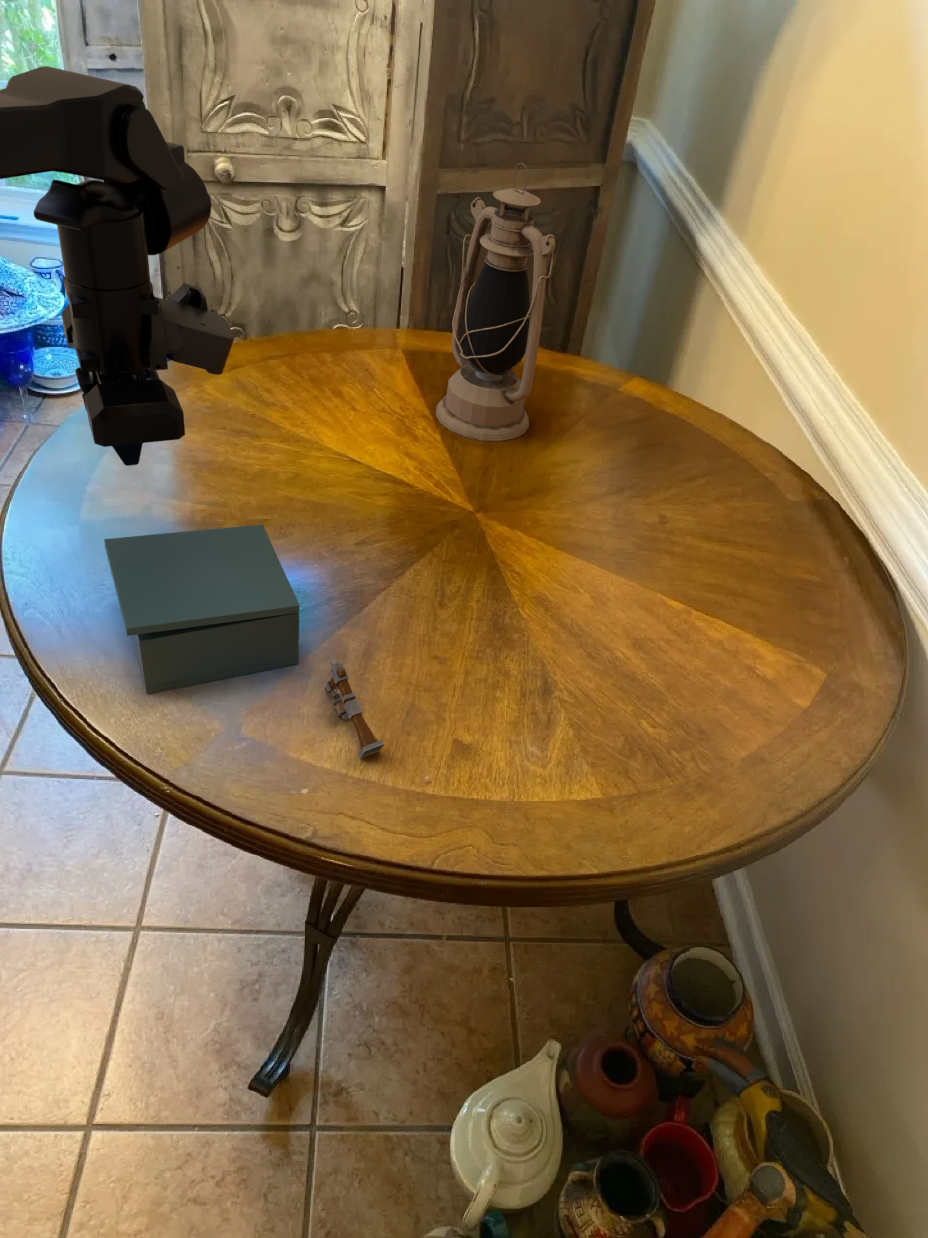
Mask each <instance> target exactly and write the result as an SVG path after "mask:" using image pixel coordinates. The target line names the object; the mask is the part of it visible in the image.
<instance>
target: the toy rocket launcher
mask: <svg viewBox="0 0 928 1238" xmlns="http://www.w3.org/2000/svg"><path fill="white" fill-rule="evenodd" d="M330 667H331V668H330V669H329V672H330V673H331V678H330V680H329V681H327V682H326V683H325V686H324V690H325V692H326V694H329V693H333V694H334V695H333V697H332V699H334V701H333V703H332V704H331V706H332V707H335V710H336V713H337V717H341V719H342V720H345V721H346V720H348V719H349V720H351V722H352V725H353V727H354V729H355V733H356V736H357V738H358V742H359V745H360V751H359V752H358V753H357V754H358V759H361V758H365V757H367V756H369V755H373V754H375V753H377V752H380V751H381V750H382V749H383V747H384V746H385V745H386V743H385V742H384V739H380V740H379V739H377V737H376V736H375V735H374V733H373V731H372V730H371V728H370V727H369V724H368V722H367V721H366V720H365V717H364V715H363V713H364V710H363V709H362V707H361V705H360V703H359V699H358V697H357V695H356V692H353V689H352V687H351V684H350V682H349V679H350V677H349V675H348V674H347V671H346V668H345V665H344V663H343V662H342V663H340V662H339V660H337V659H333V660H331V661H330ZM338 690H339V692H338ZM356 697H357V698H356Z"/></svg>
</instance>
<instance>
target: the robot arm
mask: <svg viewBox="0 0 928 1238" xmlns="http://www.w3.org/2000/svg"><path fill="white" fill-rule="evenodd" d="M48 172H56V173H62V174H68V175H72V176H80V177H83V178H91V179H90V180H83V181H80V182H78V183H71V182H67V181H63V180H59V179H52V181H51V183H50V186H49V188H48V190H47V192H46V193H45V194H44V195H43V196H42V197H41V198H40V199H39V200H38V201H37V203H36V205H35V208H34V209H33V217H34V219H36V221H41V222H44V223H48V224H52V225H56V229H57V234H58V240H59V246H60V253H61V261H62V266H63V273H64V276H63V278H62V279H63V284H64V290H65V294H66V298H67V302H68V305H66V307H64V309H63V310H62V311H61V312H60V313H61V314H60V315H61V319H62V326H63V333H64V336H65V341H66V344H67V347H68V349H73V348H74V350H75V353H76V357H77V361H78V364H79V367H77V368H76V369H75V375H76V379H77V382H78V383H77V384H78V386H79V388H80V390H81V392H82V393H81V397H82V399H83V400H82V401H83V404H84V409H85V412H86V413H87V420H88V425H89V428H90V432H91V435H92V439H93V443H94V444H95V445H96V446H97V445H98V446H100V447H102V448H103V447H104V448H108V447H111V448H112V449H113V450H114V451H115V453H116V454H117V456H118V458H119V459H120V460H121V462H122V464H123V465H124V466H126V467H130V466H137V465H138V464H140V460H141V453H142V450H143V444H147V443H158V442H168V441H177V440H180V439H181V438H183V437H184V436H185V435H186V428H185V427H186V426H185V415H184V410H183V407H182V406H181V405H182V404H181V402H180V400H179V398H178V395H177V393H176V391H175V389H174V388H172V387H171V386H170V385H168V384H167V383H165V382H164V381H163V380H162V379H160V375H159V372H158V371H167V370H169V365H168V360H170V361H172V362H175V363H178V364H182V365H186V366H190V367H194V368H197V369H202V370H205V371H206V373H207V374H211V375H215V376H216V375H218V376H219V375H220V376H221V375H222V374H223V373H224V370H225V368H226V364H227V363H228V362H227V361H228V358H229V356H230V353H231V349H232V347H233V345H234V341H235V338H236V337H235V335H234V333H233V330H232V328H231V327H230V325H229V323H228V321H227V320H226V319H225V317H223V315H220V314H219V312H218V311H217V309H214V308H211V310H209V307H208V302H207V297H206V295H205V293H204V292H203V289H202V288H201V287H199V286H195V285H192V284H189V283H186V282H184V283H182V284H181V285H180V286H179V288H177V289H176V290H175V291H174V292H173V293H172V294H171V295H166V296H165V298H162V297H157V296H155V294H154V286H153V283H152V281H151V274H150V273H151V272H150V261H149V256H156V255H157V256H158V255H160V254H162V253H164V252H166V251H168V250H169V249H171V248H173V247H175V246H176V245H178V244H180V243H181V242H184V241H185V240H187V239H188V238H191V237H192V236H194V235H195V234H197V233H199V232H200V231H201V230H204V228H205V227H206V226H207V224H208V223H209V220H210V218H211V214H212V198H211V195H210V194H209V193H208V189H207V186H206V184H205V183H204V181H203V178H202V177H201V176H200V175H199V174H198V172H197V171H196V169H194V168H193V167H192V166H191V165H189V164H188V163H187V162H186V159H185V147H184V145H182V144H178V143H175V142H174V143H173V142H169V141H166V139H165V138H164V135H163V133H162V131H161V129H160V127H159V126H158V123H157V121H156V120H155V117H154V115H152V113H151V111H150V110H149V109H148V108H147V107H146V104H145V102H144V94H143V93H142V91H141V89H139V88H138V87H137V86H136V85H135V86H134V85H131V84H128V83H122V82H118V81H115V80H109V79H107V78H102V77H97V76H92V75H88V74H84V73H83V74H82V73H79V72H74V71H70V70H65V69H61V68H57V67H53V66H48V65H44V66H40V67H37V68H33V69H31V70H27V71H25V72H21V73H19V74H15V75H13V76H12V77H10V79H8V81H7V83H6V86H5V88H2V89H0V180H4V179H10V178H11V179H12V178H16V177H23V176H31V175H35V174H36V175H37V174H42V173H48Z"/></svg>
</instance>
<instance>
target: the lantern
mask: <svg viewBox="0 0 928 1238" xmlns="http://www.w3.org/2000/svg"><path fill="white" fill-rule="evenodd" d="M519 165H522V166H524V167H525V168H526V173H527V174H526V181H525V183H524V184H525V185H524V188H523V189H520V188H515V187H516V185H515V184H516V173H517V168H518V166H519ZM529 175H530V173H529V169H528V166H527V165H526V164H525V163H523V162H519V163H516V165H515V167H514V173H513V188H507V189H498V190H495V191H494V192H492V196H493V197H494V198H495V199H496V200H497V201H499V202H501V204H500V208H497V207H495V206H487V207H486V204H485V203H484V201H483V200H482V198H481V196H477V197H475V198H474V199H473V200H472V202H471V203H470V212H471V215H472V216H473V218H474V221H475V223H474V228H473V231H472V233H471V234H469V233H468V234H465V236H464V238H463V241H462V243H463V244H462V263H461V276H460V277H461V279H460V285H459V291H458V295H457V300H456V304H455V309H454V314H453V317H452V322H451V323H452V326H451V327H452V335H451V336H452V337H451V351H452V354H453V356H454V359H455V361H456V362H457V364H458V366H460V368H459V369H458V370H457V371H456V372H455V373H453V374H452V375H451V377H449V378H448V381H447V390H446V395H445V396H444V397H443V398H442V399H441V400H440V401H439V402H438V403H437V404H436V406H435V416H436V418H437V419H438V421H439V423H440V424H441V425H442V426H443V427H445V428H446V429H447V430H449V431H450V432H452V433H455V434H457V435H460V436H461V437H464V438H468V439H472V440H477V441H482V442H502V441H509V440H514V439H516V438H519V437H520V436H522V435H524V434H525V433H526V431H527V430H528V429H529V427H530V421H529V420H530V418H529V415H528V413H527V411H526V410H525V408H524V407H525V402H526V399H527V397H529V396H530V395H531V392H532V391H531V390H532V386H533V383H534V377H535V372H536V365H537V359H538V353H539V346H540V340H541V332H542V331H541V330H542V322H543V313H544V305H545V293H546V280H547V279H549V278H550V277H551V275H552V269H553V263H554V251H555V249H556V240H555V235H553V234H547V235H544V236H543V233H542V232H541V231H540V230H539V229H538V228H537V227H534V221H535V217H534V216H533V215H532V214H530V213H529V212H530V208H532V207H536V206H538V205H539V204H541V201H542V200H541V199H540V198H539V197H538V196H536V195H534V194H532V193H530V192H529V191H526V187H527V184H528V180H529ZM509 205H510V206H509ZM490 223H491V227H490V233H487V234H486V231H487V228H488V226H489V224H490ZM467 237H469V238H470V240H469V241H470V242H469V245H468V250H467V254H466V258H465V247H466V246H465V245H466V240H467ZM482 247H483V248H485V249H486V250H487V255H486V256H485V258H484V264H483V266H482V268H481V270H480V273H479V275H478V277H477V279H476V281H475V282H474V280H475V275H476V270H477V266H478V262H479V258H480V253H481V250H482ZM550 254H551V260H550V266H549V272H548V274H547V257H548V255H550ZM530 256H533V274H532V275H533V276H532V288H531V289H532V291H531V300H530V284H529V283H530V282H529V276H528V275H529V274H528V268H529V263H528V258H529V257H530ZM473 287H474V288H473ZM523 359H524V361H523V368H522V374H521V378H519V377H518V375H517V374H516V373H515V372H514V370H515V369H516V368H517V367H518V366H520V364H521V363H522V360H523Z"/></svg>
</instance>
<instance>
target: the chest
mask: <svg viewBox="0 0 928 1238" xmlns="http://www.w3.org/2000/svg"><path fill="white" fill-rule="evenodd" d="M130 636H131V639H132V643H133V648H134V651H135V655H136V660H137V663H138V667H139V671H140V675H141V678H142V683H143V686H144V690H145V694H146V695H149V694H154V693H160V692H165V691H170V690H174V689H179V688H184V687H190V686H195V685H199V684H204V683H210V682H214V681H219V680H226V679H229V678H235V677H240V676H244V675H249V674H254V673H259V672H264V671H268V670H269V671H270V670H276V669H280V668H284V667H285V668H286V667H289V666H294V665H295V666H296V665H299V648H300V646H299V645H300V612H299V613H292V614H285V615H278V616H270V617H263V618H255V619H248V620H241V621H233V622H226V623H219V624H211V625H204V626H196V627H189V628H182V629H174V630H167V631H160V632H152V633H145V634H138V635H130Z"/></svg>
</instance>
